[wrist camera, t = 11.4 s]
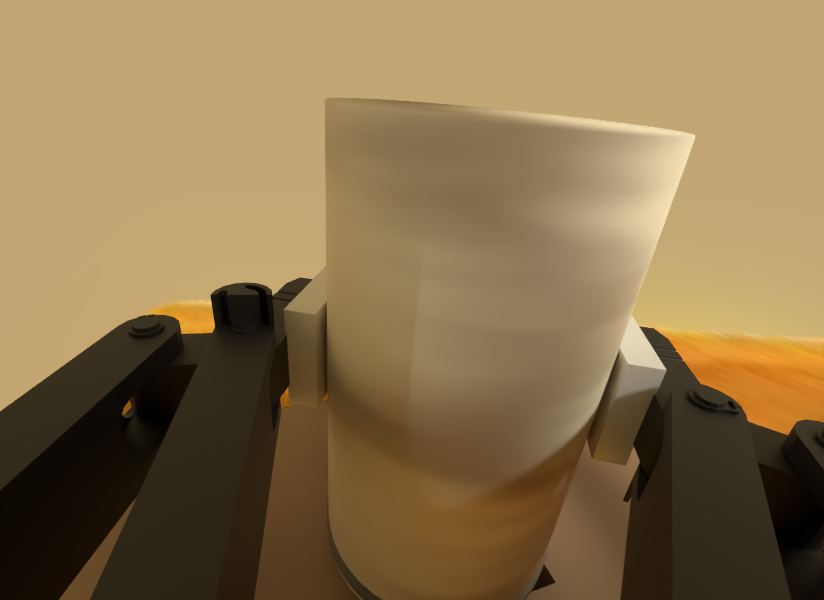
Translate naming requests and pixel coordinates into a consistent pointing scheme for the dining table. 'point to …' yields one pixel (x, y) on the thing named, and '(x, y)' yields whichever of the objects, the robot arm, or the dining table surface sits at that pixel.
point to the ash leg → (473, 329)
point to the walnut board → (311, 552)
